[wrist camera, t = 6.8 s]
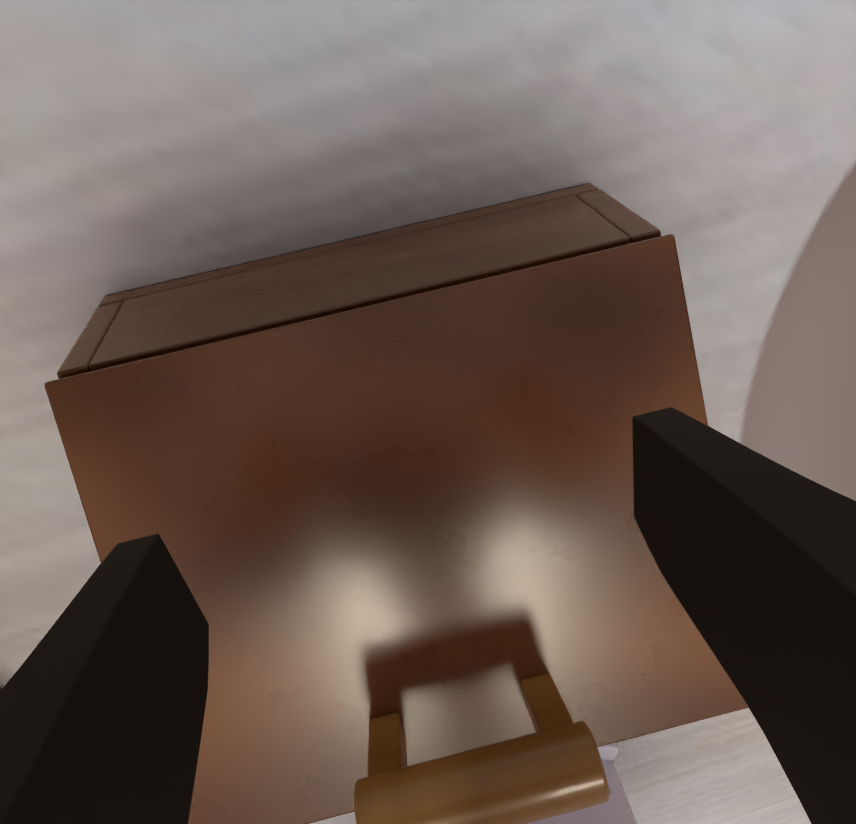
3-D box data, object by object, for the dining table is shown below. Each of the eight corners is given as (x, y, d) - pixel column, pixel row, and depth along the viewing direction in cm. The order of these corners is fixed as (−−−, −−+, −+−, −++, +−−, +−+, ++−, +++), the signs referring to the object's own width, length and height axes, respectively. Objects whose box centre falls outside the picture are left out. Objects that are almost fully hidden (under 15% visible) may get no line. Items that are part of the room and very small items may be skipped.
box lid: (746, 692, 16) (861, 809, 12) (199, 835, 16) (139, 1005, 12) (663, 236, 15) (766, 204, 11) (55, 380, 14) (-68, 402, 10)
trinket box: (604, 475, 24) (658, 561, 21) (235, 567, 24) (223, 672, 20) (591, 181, 18) (661, 229, 15) (103, 295, 18) (54, 373, 14)
